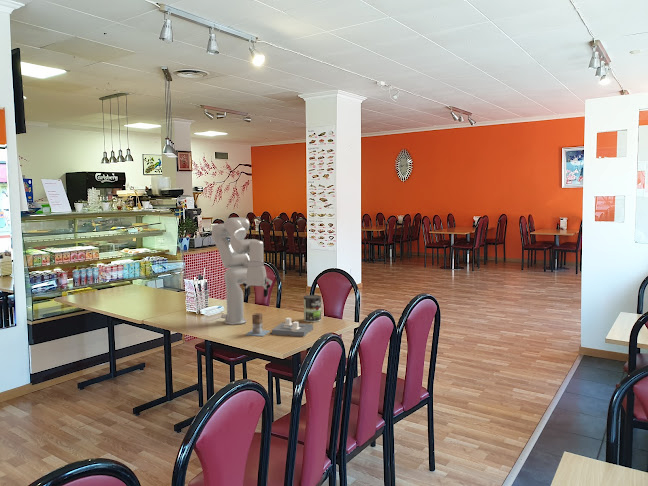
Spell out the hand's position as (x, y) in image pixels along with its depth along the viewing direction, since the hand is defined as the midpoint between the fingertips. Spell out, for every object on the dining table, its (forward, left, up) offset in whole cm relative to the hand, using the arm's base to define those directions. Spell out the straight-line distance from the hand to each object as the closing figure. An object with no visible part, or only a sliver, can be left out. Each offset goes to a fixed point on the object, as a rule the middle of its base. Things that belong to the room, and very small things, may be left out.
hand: (257, 296), depth 270 cm
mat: (0, 0, -20) cm, 20 cm away
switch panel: (+17, +8, -20) cm, 28 cm away
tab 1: (+14, +11, -18) cm, 25 cm away
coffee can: (+20, +35, -20) cm, 45 cm away
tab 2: (+20, +4, -18) cm, 27 cm away
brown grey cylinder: (0, 0, -20) cm, 20 cm away
